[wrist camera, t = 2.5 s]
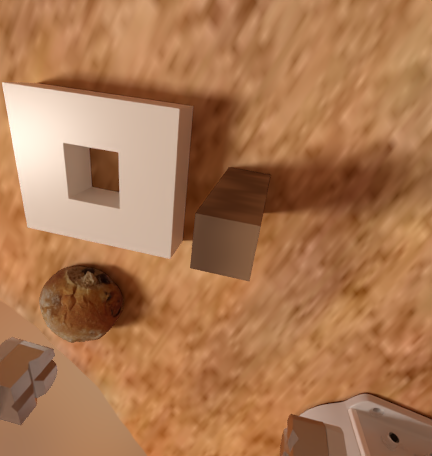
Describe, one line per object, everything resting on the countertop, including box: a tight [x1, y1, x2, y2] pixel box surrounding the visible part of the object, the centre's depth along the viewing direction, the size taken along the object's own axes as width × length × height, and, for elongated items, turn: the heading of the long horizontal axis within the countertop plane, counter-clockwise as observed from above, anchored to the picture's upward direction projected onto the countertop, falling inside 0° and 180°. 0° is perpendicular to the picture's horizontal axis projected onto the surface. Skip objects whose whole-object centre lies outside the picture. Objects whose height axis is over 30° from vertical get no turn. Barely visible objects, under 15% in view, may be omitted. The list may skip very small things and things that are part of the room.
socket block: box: [2, 82, 193, 259], centre depth 30 cm, size 16×14×4 cm
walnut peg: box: [190, 168, 270, 281], centre depth 24 cm, size 4×4×12 cm
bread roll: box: [39, 266, 123, 343], centre depth 38 cm, size 10×10×8 cm
